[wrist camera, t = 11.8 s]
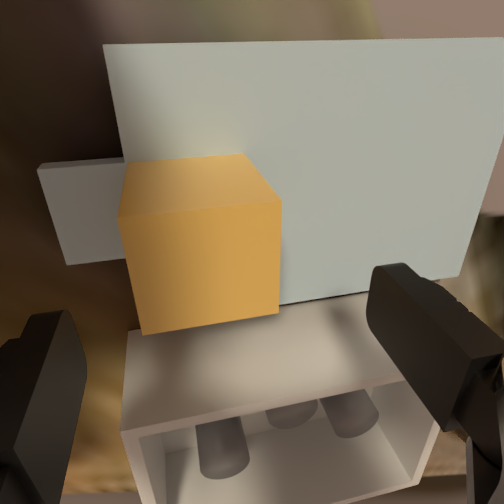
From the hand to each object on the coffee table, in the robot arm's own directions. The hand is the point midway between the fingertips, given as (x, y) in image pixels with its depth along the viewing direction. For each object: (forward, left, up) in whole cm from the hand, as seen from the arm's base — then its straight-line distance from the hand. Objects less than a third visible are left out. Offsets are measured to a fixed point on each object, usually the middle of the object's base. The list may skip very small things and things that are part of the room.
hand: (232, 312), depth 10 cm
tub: (-4, +13, -8) cm, 16 cm away
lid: (-4, 0, -8) cm, 9 cm away
